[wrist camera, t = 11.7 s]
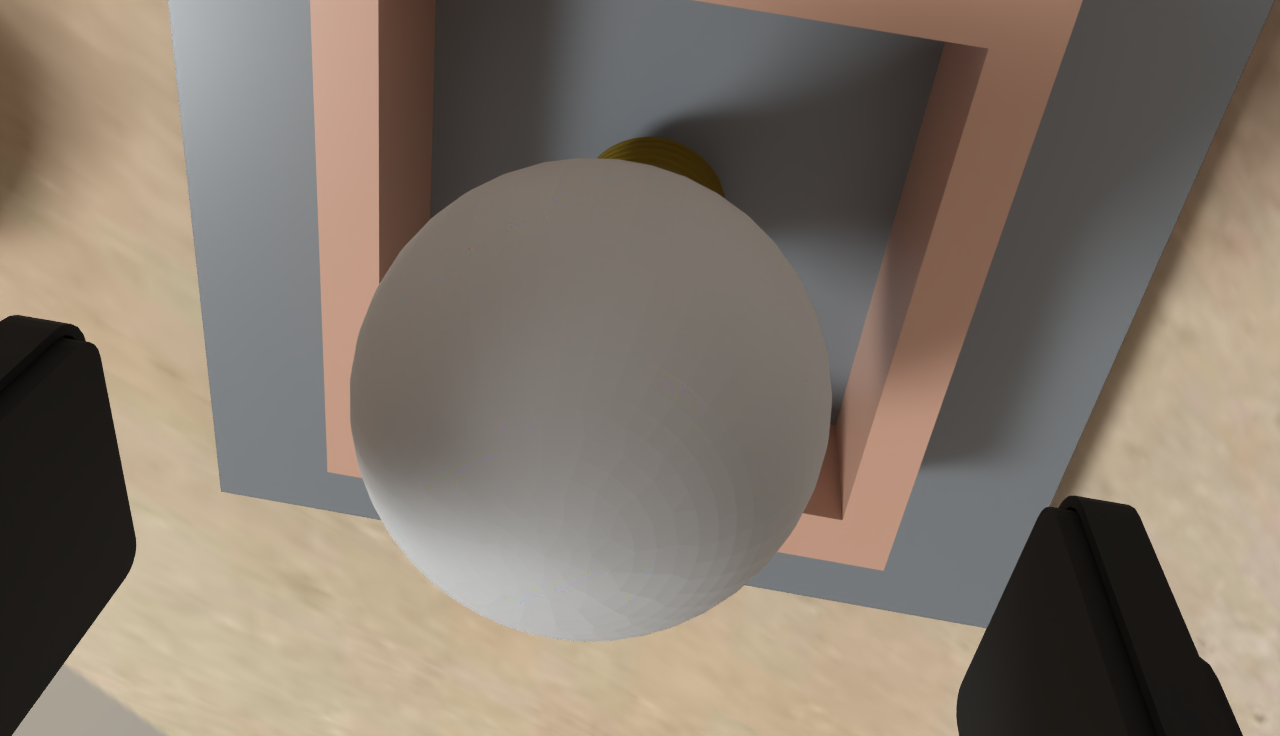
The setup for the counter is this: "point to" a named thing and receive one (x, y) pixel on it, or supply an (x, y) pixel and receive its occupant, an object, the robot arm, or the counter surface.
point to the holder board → (757, 185)
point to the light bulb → (591, 395)
